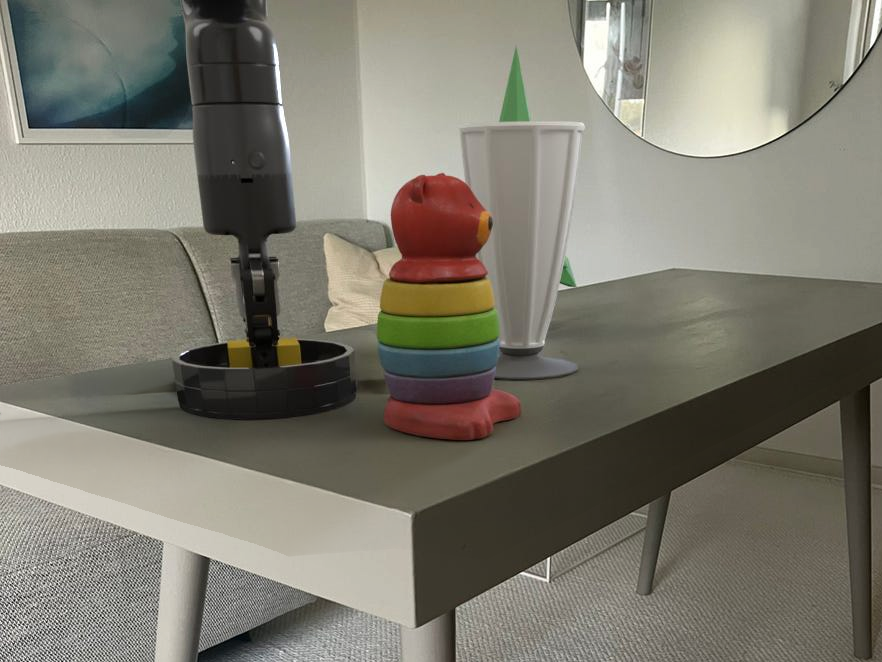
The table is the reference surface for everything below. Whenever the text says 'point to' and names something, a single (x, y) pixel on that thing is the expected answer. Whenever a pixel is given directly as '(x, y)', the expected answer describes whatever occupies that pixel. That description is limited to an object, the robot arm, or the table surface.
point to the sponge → (285, 348)
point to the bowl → (265, 382)
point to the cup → (524, 230)
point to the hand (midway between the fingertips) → (266, 383)
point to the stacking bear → (440, 316)
